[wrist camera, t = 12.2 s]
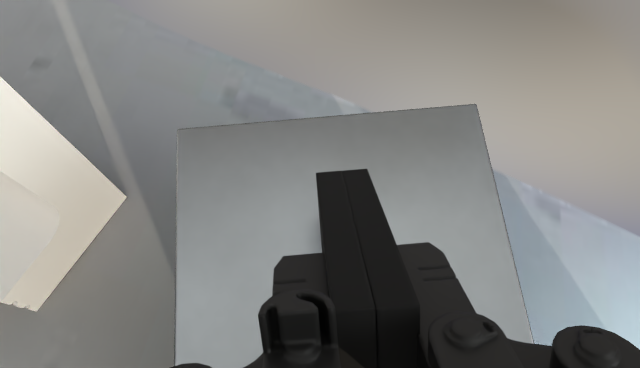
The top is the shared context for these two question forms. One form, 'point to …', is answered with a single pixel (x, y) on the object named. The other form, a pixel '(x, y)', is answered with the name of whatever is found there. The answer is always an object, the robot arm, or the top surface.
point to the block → (44, 203)
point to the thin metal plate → (303, 215)
